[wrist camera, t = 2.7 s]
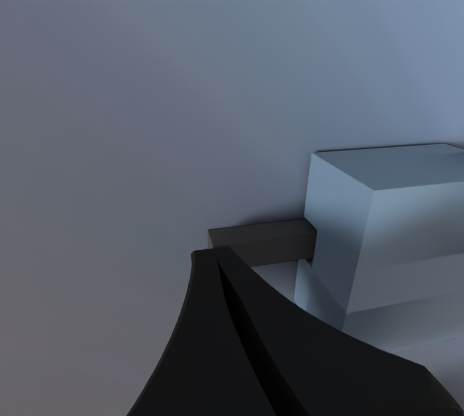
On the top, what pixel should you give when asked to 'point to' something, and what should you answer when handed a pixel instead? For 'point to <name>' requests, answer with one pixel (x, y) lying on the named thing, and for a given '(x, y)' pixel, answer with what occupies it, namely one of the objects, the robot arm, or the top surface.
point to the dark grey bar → (268, 241)
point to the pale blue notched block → (387, 244)
